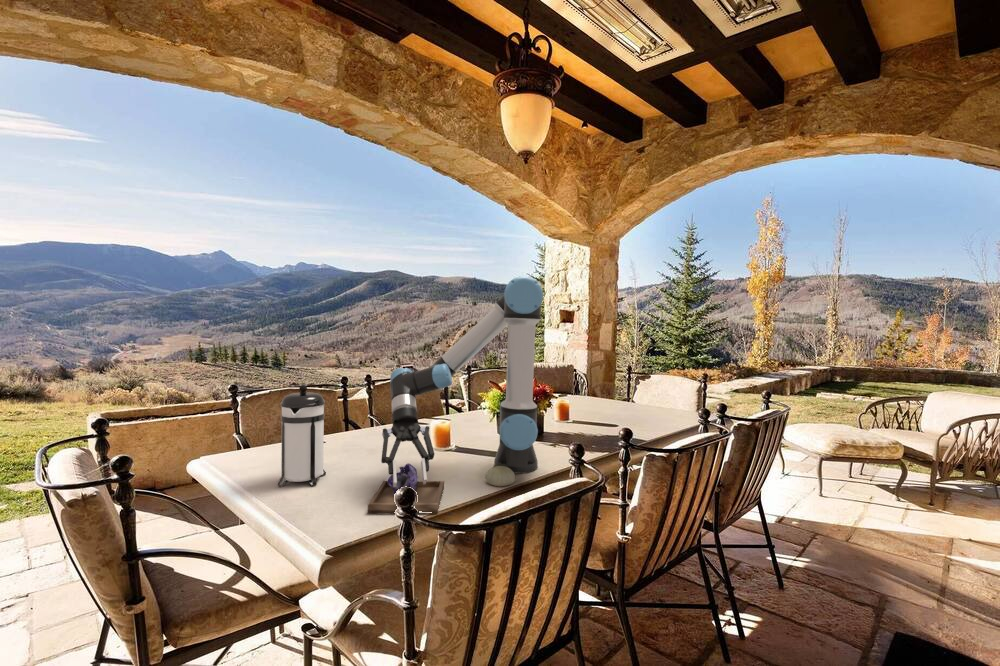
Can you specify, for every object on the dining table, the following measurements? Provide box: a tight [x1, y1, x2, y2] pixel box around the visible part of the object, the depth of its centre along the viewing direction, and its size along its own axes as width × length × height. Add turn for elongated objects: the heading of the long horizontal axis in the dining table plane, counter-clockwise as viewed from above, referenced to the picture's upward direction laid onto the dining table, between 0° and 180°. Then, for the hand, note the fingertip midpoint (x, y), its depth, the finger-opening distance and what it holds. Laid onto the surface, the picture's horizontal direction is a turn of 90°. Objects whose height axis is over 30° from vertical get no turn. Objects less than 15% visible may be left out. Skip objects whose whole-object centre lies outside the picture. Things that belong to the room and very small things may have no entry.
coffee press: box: [277, 384, 327, 488], centre depth 143 cm, size 17×16×30 cm
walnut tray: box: [367, 480, 445, 515], centre depth 128 cm, size 18×18×2 cm
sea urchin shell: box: [484, 466, 516, 487], centre depth 143 cm, size 9×8×8 cm
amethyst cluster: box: [387, 463, 419, 494], centre depth 130 cm, size 9×9×10 cm
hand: (410, 483), depth 124 cm, fingers open, 7 cm apart
